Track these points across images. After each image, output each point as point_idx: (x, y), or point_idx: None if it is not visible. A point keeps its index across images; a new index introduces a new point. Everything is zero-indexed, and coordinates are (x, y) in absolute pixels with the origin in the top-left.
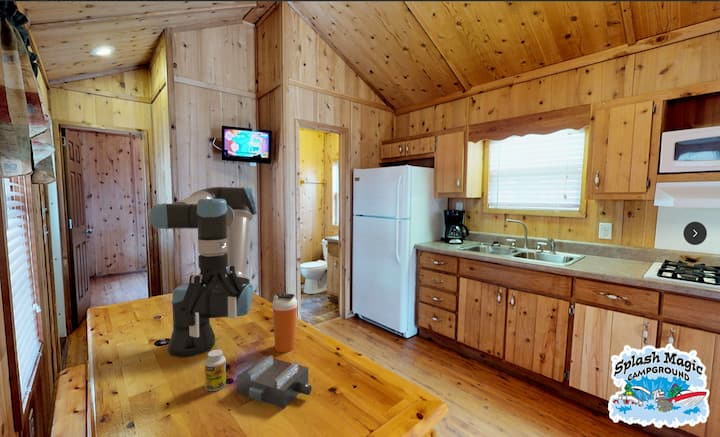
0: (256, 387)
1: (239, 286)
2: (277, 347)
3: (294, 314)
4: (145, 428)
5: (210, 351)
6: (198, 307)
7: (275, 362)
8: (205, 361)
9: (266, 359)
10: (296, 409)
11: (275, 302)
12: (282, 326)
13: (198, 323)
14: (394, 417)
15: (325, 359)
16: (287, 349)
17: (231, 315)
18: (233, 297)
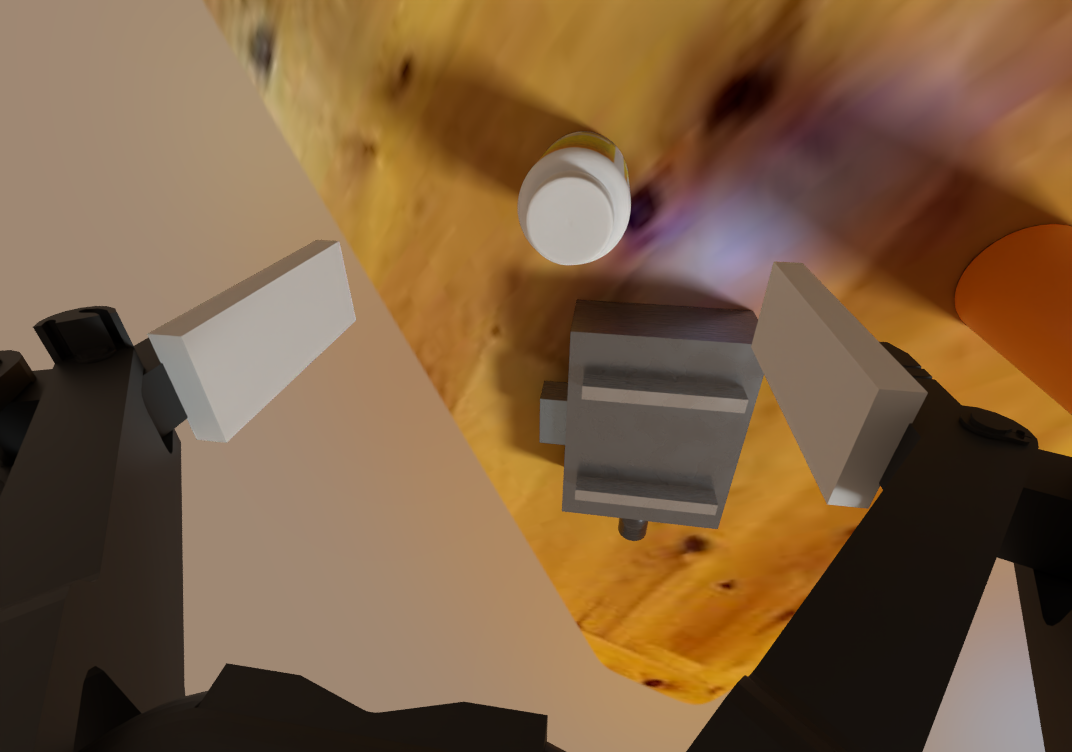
0: (558, 416)
1: None
2: (979, 277)
3: None
4: (290, 130)
5: (570, 179)
6: (179, 483)
7: (723, 416)
8: (533, 172)
9: (702, 403)
10: None
11: None
12: (1062, 385)
13: (290, 376)
14: (631, 653)
15: None
16: (968, 326)
17: (769, 318)
18: (853, 479)
